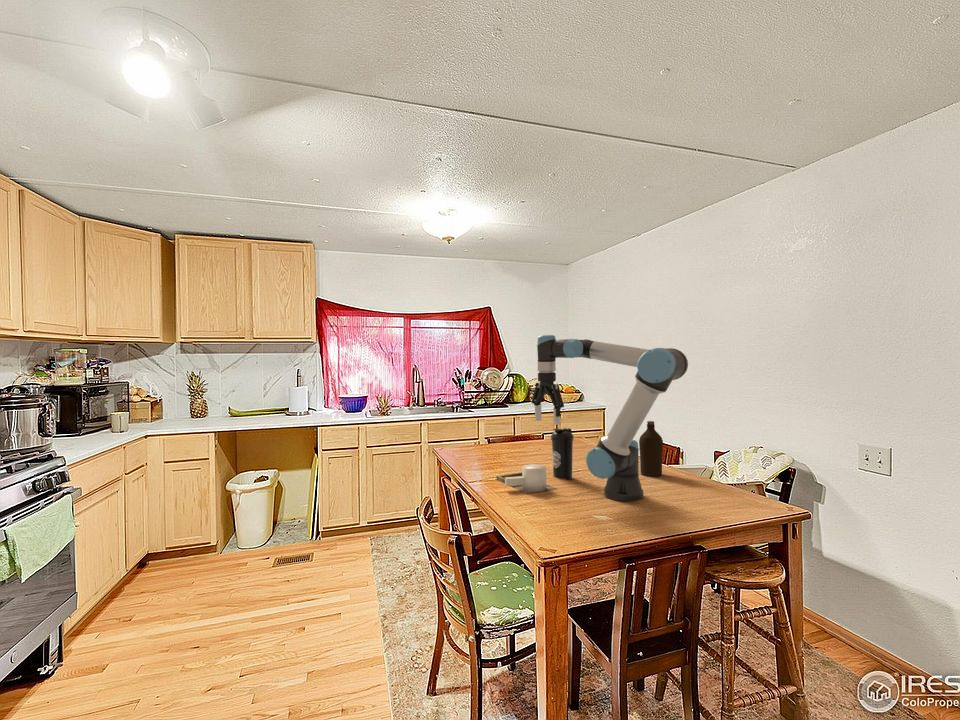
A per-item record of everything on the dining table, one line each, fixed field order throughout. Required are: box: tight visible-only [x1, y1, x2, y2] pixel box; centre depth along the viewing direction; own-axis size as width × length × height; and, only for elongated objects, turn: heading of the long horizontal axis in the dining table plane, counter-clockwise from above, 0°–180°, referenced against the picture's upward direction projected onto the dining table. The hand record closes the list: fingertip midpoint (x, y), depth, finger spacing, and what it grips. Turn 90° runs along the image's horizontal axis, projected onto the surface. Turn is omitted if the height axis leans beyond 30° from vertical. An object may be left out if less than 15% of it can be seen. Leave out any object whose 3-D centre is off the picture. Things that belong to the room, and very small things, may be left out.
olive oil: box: [638, 420, 664, 478], centre depth 223 cm, size 11×11×25 cm
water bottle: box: [550, 427, 574, 481], centre depth 219 cm, size 10×10×23 cm
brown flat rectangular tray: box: [496, 472, 558, 495], centre depth 207 cm, size 27×15×2 cm, turn 26°
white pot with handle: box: [504, 463, 547, 493], centre depth 199 cm, size 18×10×9 cm, turn 103°
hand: (547, 422), depth 199 cm, fingers open, 13 cm apart
